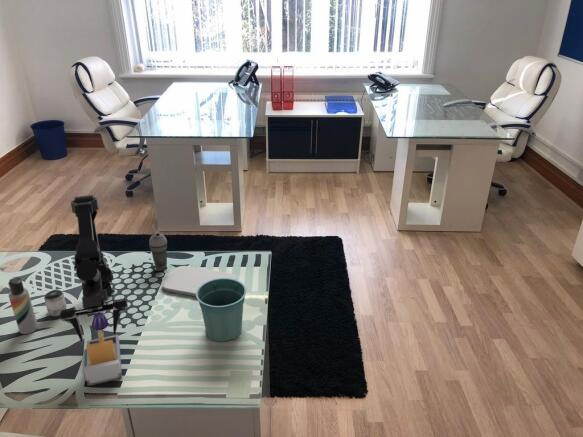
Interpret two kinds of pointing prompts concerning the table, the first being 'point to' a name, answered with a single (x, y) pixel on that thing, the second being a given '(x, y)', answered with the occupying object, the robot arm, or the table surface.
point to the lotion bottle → (22, 307)
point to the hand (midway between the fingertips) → (98, 338)
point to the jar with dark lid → (55, 302)
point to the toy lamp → (99, 325)
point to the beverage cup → (159, 250)
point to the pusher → (101, 352)
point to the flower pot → (222, 307)
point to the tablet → (191, 279)
